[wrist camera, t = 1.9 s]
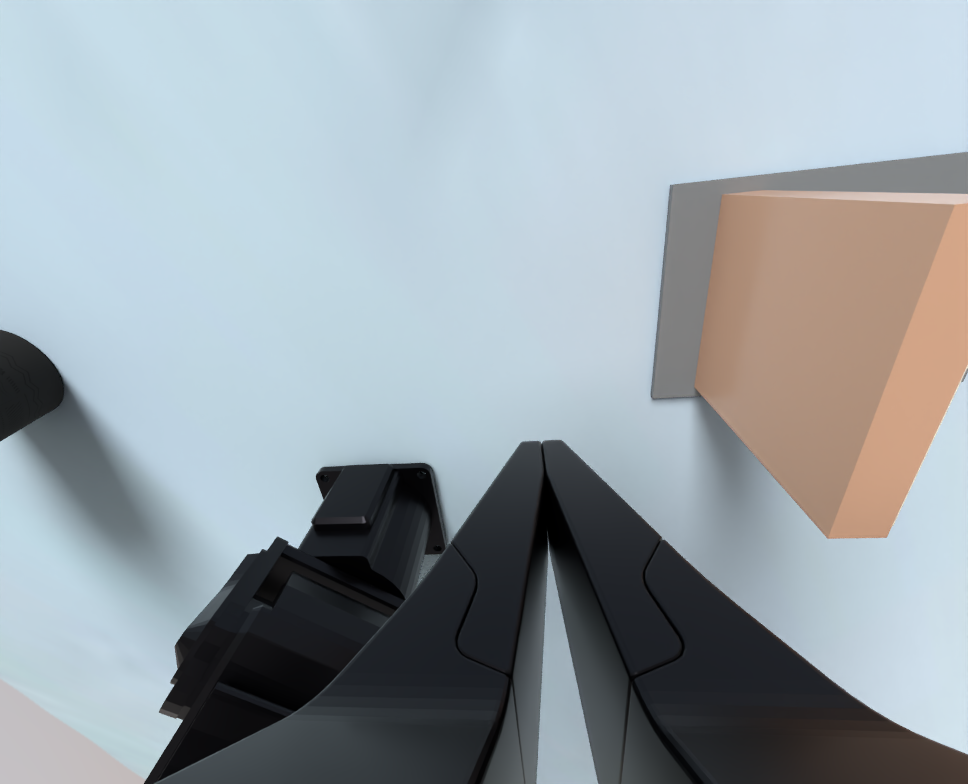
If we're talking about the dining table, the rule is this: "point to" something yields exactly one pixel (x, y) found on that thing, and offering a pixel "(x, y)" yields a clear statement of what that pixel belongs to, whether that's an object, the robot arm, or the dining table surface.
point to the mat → (696, 235)
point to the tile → (837, 341)
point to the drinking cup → (25, 384)
